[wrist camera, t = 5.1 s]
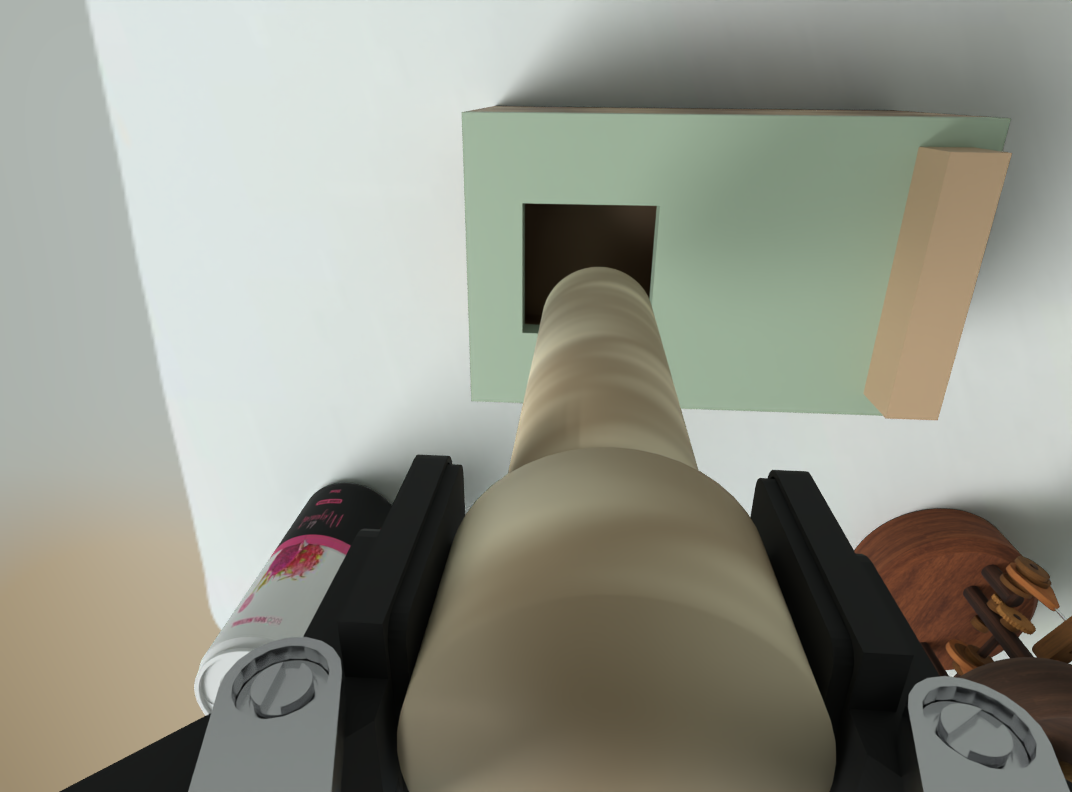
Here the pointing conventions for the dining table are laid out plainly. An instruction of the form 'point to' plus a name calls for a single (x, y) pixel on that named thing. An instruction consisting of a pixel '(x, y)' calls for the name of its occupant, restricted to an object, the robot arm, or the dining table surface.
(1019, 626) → the music box
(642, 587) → the pin
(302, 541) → the beverage can
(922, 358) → the green box lid
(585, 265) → the wooden box
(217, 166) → the dining table surface
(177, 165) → the dining table surface
